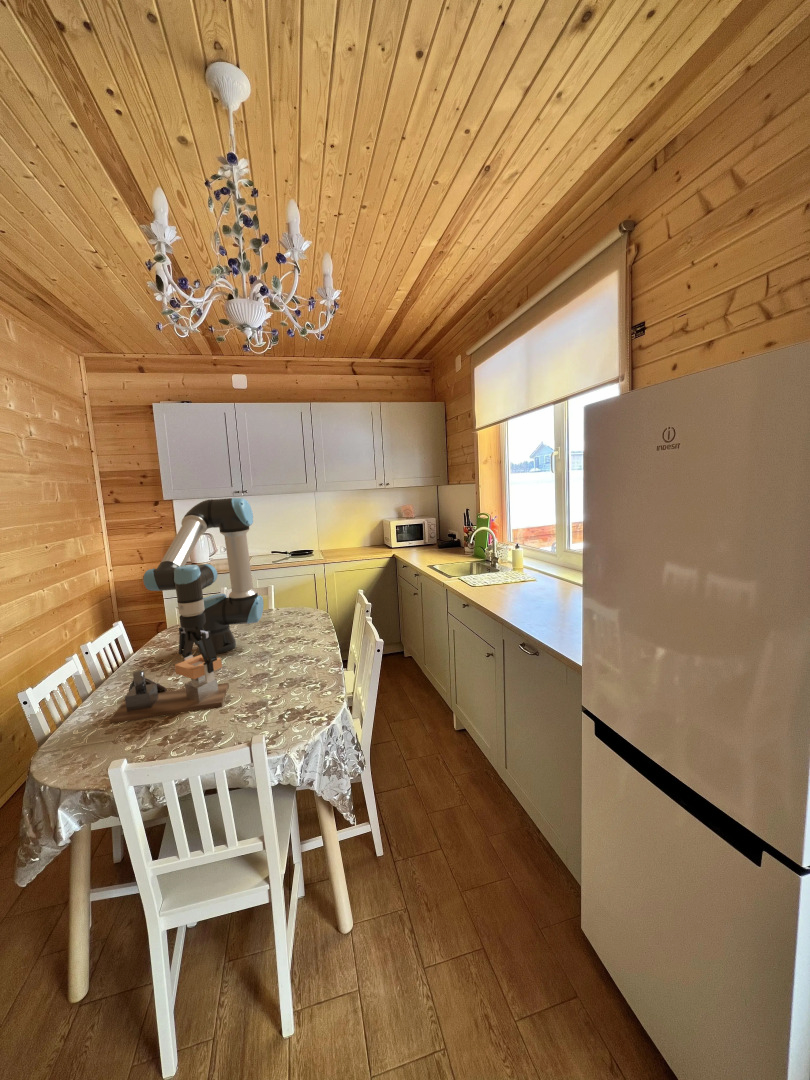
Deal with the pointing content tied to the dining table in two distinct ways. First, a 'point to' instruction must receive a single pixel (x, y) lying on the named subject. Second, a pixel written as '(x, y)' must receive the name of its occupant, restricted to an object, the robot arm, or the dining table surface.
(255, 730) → the dining table surface
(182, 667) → the collar
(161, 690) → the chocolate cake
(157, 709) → the board
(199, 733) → the dining table surface
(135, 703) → the stand
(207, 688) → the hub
